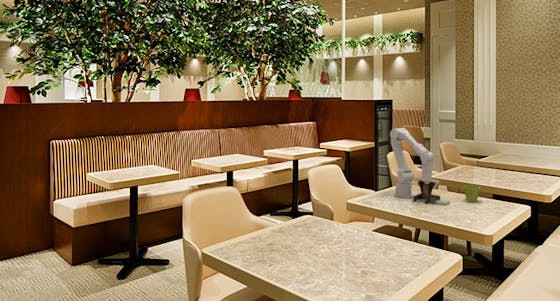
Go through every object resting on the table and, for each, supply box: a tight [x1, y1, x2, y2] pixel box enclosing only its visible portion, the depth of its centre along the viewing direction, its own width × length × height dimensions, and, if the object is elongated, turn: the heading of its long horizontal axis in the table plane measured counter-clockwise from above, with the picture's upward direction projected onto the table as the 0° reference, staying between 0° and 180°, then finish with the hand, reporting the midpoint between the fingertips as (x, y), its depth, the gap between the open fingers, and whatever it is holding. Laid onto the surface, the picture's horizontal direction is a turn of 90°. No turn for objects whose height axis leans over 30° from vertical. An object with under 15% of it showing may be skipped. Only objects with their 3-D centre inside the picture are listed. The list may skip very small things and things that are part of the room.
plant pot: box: [463, 185, 481, 203], centre depth 260 cm, size 9×9×9 cm
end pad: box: [434, 199, 451, 206], centre depth 255 cm, size 7×7×1 cm
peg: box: [423, 183, 430, 198], centre depth 261 cm, size 4×4×8 cm
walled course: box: [412, 192, 441, 205], centre depth 260 cm, size 12×11×4 cm
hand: (426, 193), depth 261 cm, fingers closed on peg, 4 cm apart
